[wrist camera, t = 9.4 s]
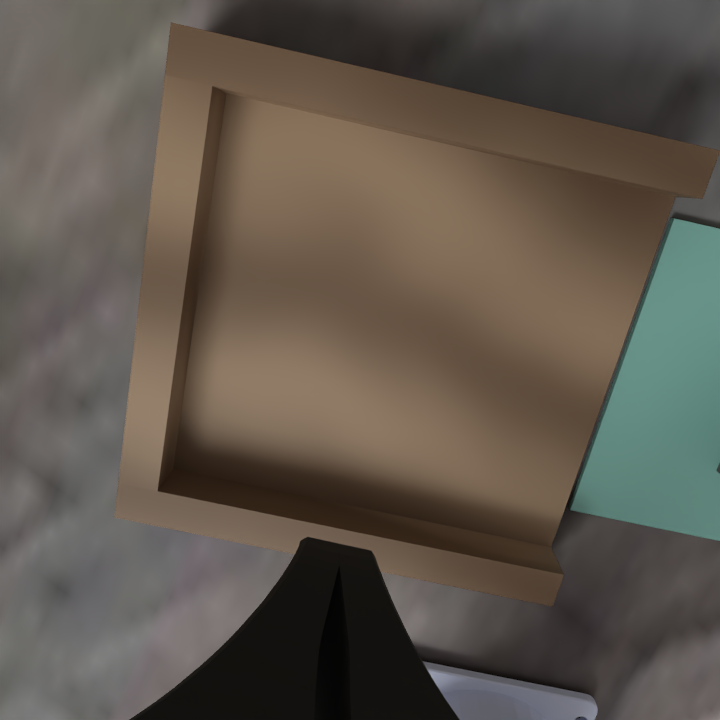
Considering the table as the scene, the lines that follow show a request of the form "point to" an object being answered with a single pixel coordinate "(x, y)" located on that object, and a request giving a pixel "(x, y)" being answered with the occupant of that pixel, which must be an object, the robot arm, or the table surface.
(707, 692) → the table surface
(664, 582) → the table surface
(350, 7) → the table surface
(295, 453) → the wooden tray
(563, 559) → the table surface
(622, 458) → the cover plate
